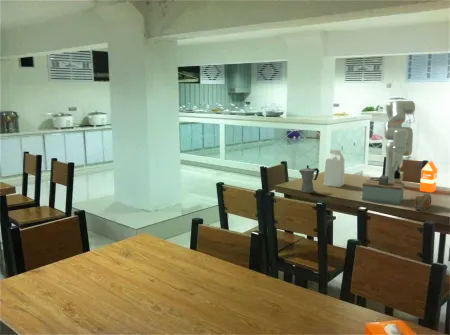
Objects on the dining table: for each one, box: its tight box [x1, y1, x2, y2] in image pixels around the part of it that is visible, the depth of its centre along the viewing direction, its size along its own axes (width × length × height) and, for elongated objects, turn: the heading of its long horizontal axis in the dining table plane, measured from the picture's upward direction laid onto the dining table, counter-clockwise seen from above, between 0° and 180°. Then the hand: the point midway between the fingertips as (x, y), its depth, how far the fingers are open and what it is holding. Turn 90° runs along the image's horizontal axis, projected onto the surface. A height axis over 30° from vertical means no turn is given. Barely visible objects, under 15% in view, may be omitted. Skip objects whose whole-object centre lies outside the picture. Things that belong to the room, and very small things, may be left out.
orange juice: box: [419, 161, 438, 193], centre depth 286 cm, size 8×9×20 cm
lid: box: [361, 174, 405, 190], centre depth 263 cm, size 14×23×6 cm, turn 59°
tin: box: [413, 193, 432, 211], centre depth 244 cm, size 15×3×8 cm, turn 126°
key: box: [394, 171, 404, 183], centre depth 268 cm, size 8×4×6 cm, turn 149°
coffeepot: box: [298, 165, 320, 194], centre depth 287 cm, size 15×9×18 cm, turn 107°
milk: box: [323, 148, 345, 188], centre depth 304 cm, size 12×12×26 cm
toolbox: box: [361, 181, 405, 205], centre depth 266 cm, size 18×22×10 cm
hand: (396, 178), depth 263 cm, fingers closed
